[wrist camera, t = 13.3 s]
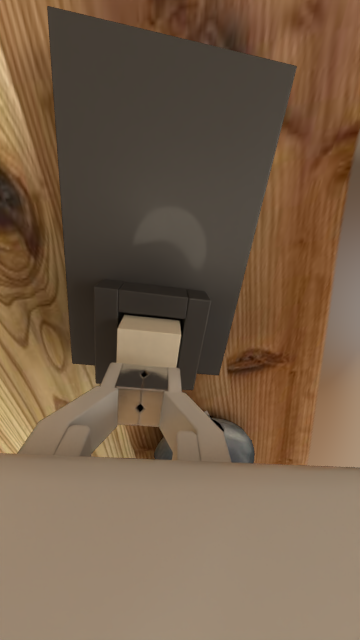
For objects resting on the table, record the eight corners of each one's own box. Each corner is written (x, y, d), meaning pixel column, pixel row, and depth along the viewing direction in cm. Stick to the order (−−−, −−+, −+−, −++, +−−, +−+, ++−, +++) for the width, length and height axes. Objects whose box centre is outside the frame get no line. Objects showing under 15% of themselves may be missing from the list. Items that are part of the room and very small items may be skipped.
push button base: (212, 358, 17) (225, 393, 13) (84, 346, 16) (59, 381, 12) (273, 95, 11) (327, 27, 7) (71, 50, 10) (14, -55, 6)
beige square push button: (172, 365, 13) (173, 385, 11) (122, 361, 13) (115, 380, 11) (179, 320, 12) (181, 334, 10) (124, 314, 11) (116, 328, 10)
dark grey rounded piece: (257, 478, 26) (245, 404, 18) (272, 543, 21) (264, 480, 14) (183, 483, 28) (143, 416, 20) (182, 544, 23) (129, 488, 15)
